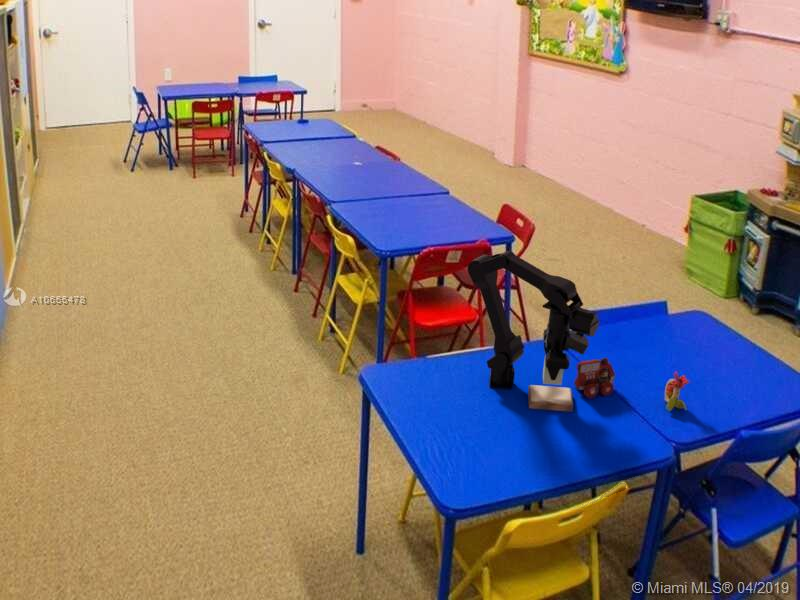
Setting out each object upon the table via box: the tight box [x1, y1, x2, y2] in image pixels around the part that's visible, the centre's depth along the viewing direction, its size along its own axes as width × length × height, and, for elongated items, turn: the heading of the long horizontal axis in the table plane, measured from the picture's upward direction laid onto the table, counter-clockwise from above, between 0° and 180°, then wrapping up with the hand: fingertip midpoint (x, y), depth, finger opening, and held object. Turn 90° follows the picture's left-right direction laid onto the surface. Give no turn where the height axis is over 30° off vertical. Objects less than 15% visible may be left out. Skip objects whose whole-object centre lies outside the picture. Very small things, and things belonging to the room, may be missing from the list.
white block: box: [542, 358, 564, 386], centre depth 235 cm, size 5×5×6 cm
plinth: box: [527, 384, 574, 413], centre depth 239 cm, size 12×9×2 cm
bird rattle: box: [664, 371, 691, 412], centre depth 237 cm, size 6×11×9 cm
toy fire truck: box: [573, 357, 616, 399], centre depth 243 cm, size 7×12×10 cm, turn 110°
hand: (552, 375), depth 236 cm, fingers closed on white block, 5 cm apart
